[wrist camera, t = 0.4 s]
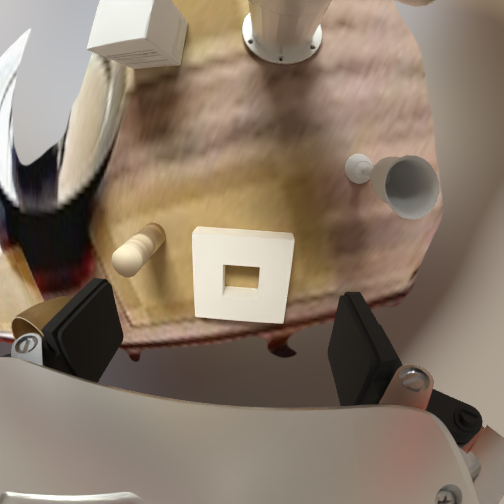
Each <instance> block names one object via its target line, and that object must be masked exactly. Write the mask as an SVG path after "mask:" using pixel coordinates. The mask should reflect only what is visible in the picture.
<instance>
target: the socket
mask: <svg viewBox="0 0 504 504" xmlns="http://www.w3.org/2000/svg"><path fill="white" fill-rule="evenodd" d="M294 242H295V240H294V236H293V233H286V232H273V231H259V230H245V229H229V228H213V227H196V229H195V230H194V231H193V233H192V250H193V281H194V302H195V317H204V318H213V319H224V320H236V321H249V322H264V323H281V324H283V322H284V315H285V308H286V302H287V295H288V288H289V280H290V273H291V265H292V258H293V250H294ZM225 265H237V266H250V267H260V269H259V282H258V289H257V288H243V287H230V286H225Z"/></svg>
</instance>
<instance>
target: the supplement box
mask: <svg viewBox="0 0 504 504" xmlns="http://www.w3.org/2000/svg"><path fill="white" fill-rule="evenodd" d="M187 26H188V21H187V20H186V19H185V17H184V16H183V15H182V13H181V12H180V11H179V9H178V8H177V7H176V6H175V4H174V3H173V2H172V0H100V2H99V5H98V8H97V12H96V15H95V18H94V22H93V26H92V30H91V33H90V37H89V42H88V46H87V50H89V51H92V52H94V53H97V54H100V55H102V56H105V57H107V58H110V59H112V60H114V61H117V62H119V63H121V64H124V65H126V66H128V67H130V68H133V69H141V68H151V67H163V66H179V65H181V60H182V54H183V48H184V42H185V37H186V32H187Z"/></svg>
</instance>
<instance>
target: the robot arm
mask: <svg viewBox="0 0 504 504" xmlns="http://www.w3.org/2000/svg"><path fill="white" fill-rule="evenodd" d="M248 1H249V9H250V12H249V13H248V15H247V16H246V17H245V19H244V21H243V25H242V35H243V39H244V41H245V44H246V45H247V47H248V48H249V50H250V51H251V52H253V53H254V54H255V55H256V56H258V57H259V58H261V59H263V60H265V61H268V62H271V63H275V64H295V63H299V62H302V61H304V60H306V59H308V58H310V57H311V56H312V55H313V54H314V53H315V52H316V51H317V49H318V48H319V46H320V44H321V41H322V29H321V25H320V22H321V20H322V18H323V16H324V14H325V12H326V10H327V8H328V6H329V4H330V2H331V1H332V0H248ZM395 1H398V2H400V3H403V4H407V5H411V6H425V5H428V4H430V3H432V2H433V1H435V0H395ZM250 42H252V44H249V43H250ZM311 48H313V50H312V49H311ZM279 59H282V61H280V60H279ZM41 331H42V333H43V335H44V337H43V338H42V339H41V337H40V336H39V335H38V334H35V333H28V334H25V335H22V336H20V337H19V338H18V339H16V340H15V342H14V343H13V346H12V352H11V354H8V355H5V356H1V357H0V504H498V503H499V501H500V500H501V499H502V497H503V495H504V438H503V437H502V436H500V435H499V434H498V433H497V432H496V431H494V430H493V429H492V428H490V427H489V426H488V425H487V426H486V427H485V428H484V427H483V426H482V417H481V415H480V413H479V412H478V410H477V409H476V408H474V407H472V406H471V405H468V404H466V403H464V402H461V401H459V400H457V399H454V398H452V397H450V396H448V395H445V394H443V393H441V392H439V391H436V390H434V389H433V386H434V380H433V377H432V375H431V374H430V373H429V372H428V371H427V370H426V369H424V368H423V367H421V366H417V365H413V364H412V365H411V364H407V365H402V364H401V361H400V359H399V357H398V355H397V354H396V352H395V350H394V348H393V346H392V344H391V343H390V341H389V339H388V337H387V336H386V334H385V332H384V330H383V328H382V326H381V325H380V324H378V322H377V320H376V318H375V317H374V315H373V313H372V311H371V310H370V308H369V306H368V305H367V303H366V301H365V300H364V298H363V296H362V295H361V293H360V292H346V293H345V294H344V296H340V298H339V303H338V308H337V313H336V317H335V322H334V326H333V331H332V335H331V339H330V343H329V347H328V358H329V362H330V365H331V369H332V373H333V377H334V380H335V384H336V389H337V393H338V397H339V401H340V405H341V406H337V407H315V408H261V407H241V406H227V405H216V404H207V403H197V402H190V401H183V400H176V399H170V398H163V397H158V396H153V395H147V394H142V393H138V392H133V391H129V390H124V389H120V388H116V387H112V386H108V385H104V384H100V383H98V381H99V379H100V378H101V376H102V374H103V372H104V371H105V369H106V367H107V366H108V364H109V362H110V361H111V359H112V358H113V356H114V354H115V353H116V351H117V349H118V348H119V346H120V345H121V343H122V341H123V331H122V328H121V324H120V320H119V316H118V312H117V308H116V304H115V299H114V295H113V290H112V286H111V284H110V283H108V281H107V280H106V279H99V278H94V279H93V280H91V281H90V282H89V283H88V284H87V285H86V286H85V287H84V288H83V289H82V290H81V291H80V292H79V293H77V294H76V295H75V296H74V297H73V298H72V299H71V300H70V301H69V302H68V303H67V304H66V305H65V306H64V307H63V308H62V309H61V310H60V311H59V312H58V313H57V314H56V315H55V316H54V317H53V318H52V319H51V320H50V321H49V322H48V323H47V324H46V325H45V326H44V327H43V328H42V329H41Z"/></svg>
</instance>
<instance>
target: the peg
mask: <svg viewBox="0 0 504 504" xmlns="http://www.w3.org/2000/svg"><path fill="white" fill-rule="evenodd" d="M165 237H166V235H165V231H164V229H163V228H162V227H161V226H160V225H158V224H156V223H150V224H148V225H146V226H145V227H144V228H143V229H141V230H140V231H139V232H138V233H137V234H135V235H134V236H133V237H132V238H130V239H129V240H128V241H127V242H126V243H124V244H123V245H122V246H121V247H120V248H118V249H117V250H116V251H115V252H114V253H113V255H112V264H113V267H114V269H115V270H116V271H117V272H118V273H119V274H120V275H122V276H124V277H132V276H134V275H135V274H136V273H137V272H138V271H139V270H140V269H141V267H142V266H143V265H144V264H145V263H146V262H147V261H148V259H149V258H150V257H151V256H152V255H153V254H154V253H155V252H156V250H157V249H158V248H159V247H160V246H161V245H162V244H163V243H164V241H165Z"/></svg>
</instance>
